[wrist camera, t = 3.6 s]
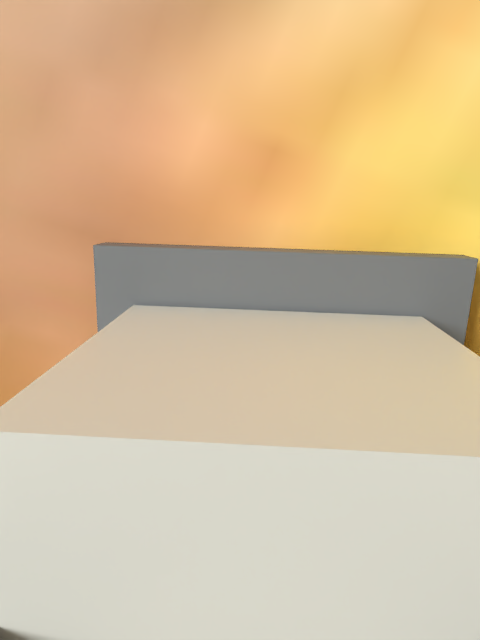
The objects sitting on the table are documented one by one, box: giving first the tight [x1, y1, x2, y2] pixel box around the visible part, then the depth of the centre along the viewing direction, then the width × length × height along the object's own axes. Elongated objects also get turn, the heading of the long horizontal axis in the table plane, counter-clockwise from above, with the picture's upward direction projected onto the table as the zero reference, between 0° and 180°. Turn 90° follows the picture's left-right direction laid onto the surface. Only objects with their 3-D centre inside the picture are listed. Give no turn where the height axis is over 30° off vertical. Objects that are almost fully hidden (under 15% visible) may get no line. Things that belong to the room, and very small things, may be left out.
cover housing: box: [0, 305, 480, 640], centre depth 12 cm, size 10×10×9 cm
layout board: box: [93, 242, 478, 345], centre depth 19 cm, size 13×30×1 cm, turn 178°
